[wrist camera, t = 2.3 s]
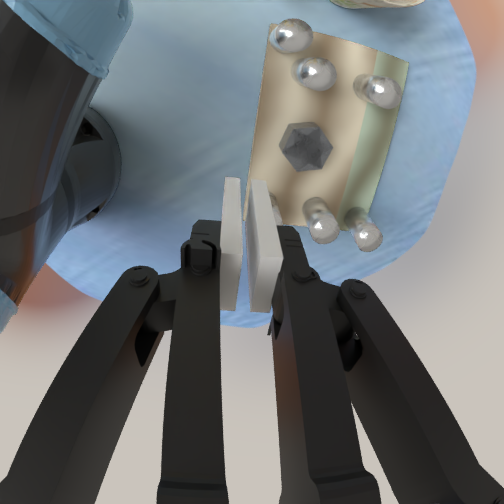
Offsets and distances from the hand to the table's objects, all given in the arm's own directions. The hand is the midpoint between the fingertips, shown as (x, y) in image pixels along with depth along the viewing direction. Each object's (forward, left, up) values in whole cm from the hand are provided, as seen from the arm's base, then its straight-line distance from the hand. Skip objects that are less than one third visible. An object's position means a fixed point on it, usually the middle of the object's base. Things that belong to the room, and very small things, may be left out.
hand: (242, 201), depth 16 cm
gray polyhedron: (+7, 0, -15) cm, 17 cm away
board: (+9, +1, -16) cm, 19 cm away
